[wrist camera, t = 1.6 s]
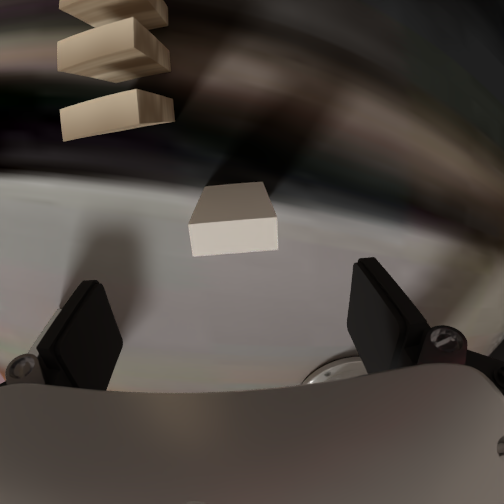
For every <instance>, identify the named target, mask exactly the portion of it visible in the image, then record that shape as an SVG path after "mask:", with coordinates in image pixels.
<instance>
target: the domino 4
mask: <svg viewBox="0 0 504 504" xmlns="http://www.w3.org/2000/svg"><path fill="white" fill-rule="evenodd" d="M188 227H189V234H190V240H191V247H192V253H193V257H195V256H207V255H219V254H232V253H244V252H256V251H269V250H278V229H277V216H276V213H275V211H274V208H273V206H272V203H271V201H270V198H269V196H268V194H267V191H266V189H265V186H264V184H263V182H250V183H238V184H226V185H215V186H205V188H204V190H203V192H202V194H201V196H200V199H199V201H198V203H197V205H196V208H195V210H194V212H193V214H192V217H191V219H190V221H189V224H188Z"/></svg>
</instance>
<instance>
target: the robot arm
mask: <svg viewBox="0 0 504 504" xmlns="http://www.w3.org/2000/svg"><path fill="white" fill-rule="evenodd" d="M347 328H348V332H349V334H350V336H351V338H352V340H353V342H354V345H355V347H356V349H357V351H358V353H359V355H360V357H350V358H344V359H340V360H337V361H334V362H331V363H329V364H327V365H325V366H323V367H321V368H319V369H317V370H316V371H315V372H313V373H312V374H311V375H310V376H309V377H308V378H307V379H305V380H304V382H303V383H302V385H296V386H287V387H278V388H268V389H256V390H243V391H227V392H203V393H144V392H120V391H106V389H107V387H108V384H109V381H110V378H111V376H112V373H113V370H114V367H115V365H116V362H117V360H118V357H119V354H120V352H121V349H122V346H123V341H122V337H121V334H120V332H119V329H118V327H117V324H116V321H115V319H114V316H113V313H112V310H111V307H110V304H109V302H108V299H107V296H106V293H105V290H104V287H103V285H102V284H99V282H98V281H97V280H89V281H83V282H82V283H81V284H80V285H79V286H78V288H77V289H76V290H75V292H74V293H73V295H72V296H71V297H70V299H69V300H68V301H67V303H66V304H65V306H64V307H63V308H62V310H61V311H60V313H59V314H58V315H57V317H56V318H55V320H54V321H53V323H52V324H51V326H50V327H49V329H48V330H47V331H46V333H45V334H44V336H43V338H42V339H41V341H40V342H39V344H38V345H37V347H36V349H37V351H38V353H39V355H38V356H37V357H36V356H35V355H33V354H23V355H20V356H18V357H16V358H14V359H13V360H12V361H11V362H10V363H9V365H8V366H7V368H6V372H5V376H6V381H5V382H3V383H1V384H0V504H504V362H503V361H500V360H497V359H494V358H491V357H488V356H485V355H482V354H479V353H476V352H473V351H470V350H467V340H466V338H465V336H464V335H463V334H462V333H461V332H460V331H459V330H457V329H455V328H453V327H450V326H444V325H442V326H435V327H432V328H430V326H429V325H428V324H427V321H426V319H425V318H424V317H423V315H422V314H421V313H420V312H419V310H418V309H417V308H416V307H415V305H414V304H413V303H412V302H411V300H410V299H409V298H408V297H407V295H406V294H405V293H404V292H403V290H402V289H401V288H400V287H399V286H398V284H397V283H396V282H395V281H394V280H393V278H392V277H391V276H390V275H389V274H388V272H387V271H386V270H385V269H384V268H383V267H382V265H381V264H380V263H379V262H378V261H377V260H376V258H374V257H370V258H360V259H359V260H358V263H354V265H353V274H352V284H351V293H350V302H349V310H348V317H347Z"/></svg>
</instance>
